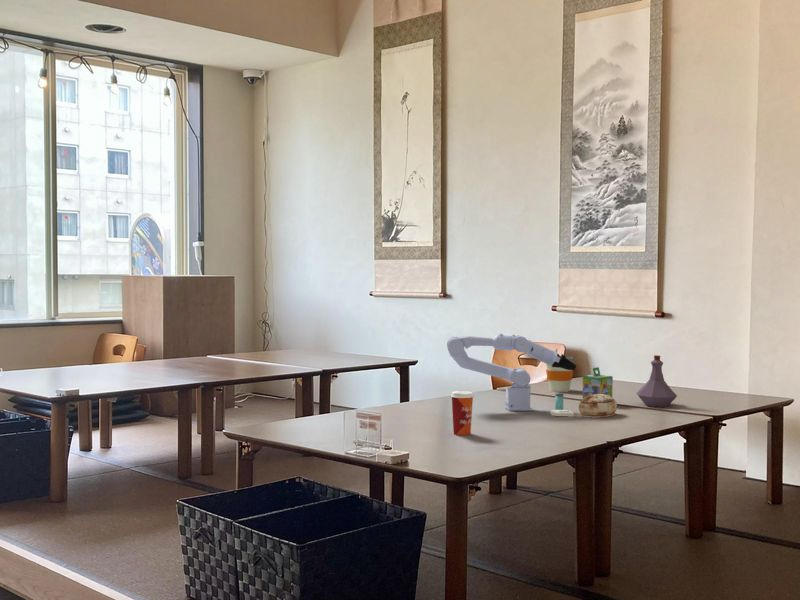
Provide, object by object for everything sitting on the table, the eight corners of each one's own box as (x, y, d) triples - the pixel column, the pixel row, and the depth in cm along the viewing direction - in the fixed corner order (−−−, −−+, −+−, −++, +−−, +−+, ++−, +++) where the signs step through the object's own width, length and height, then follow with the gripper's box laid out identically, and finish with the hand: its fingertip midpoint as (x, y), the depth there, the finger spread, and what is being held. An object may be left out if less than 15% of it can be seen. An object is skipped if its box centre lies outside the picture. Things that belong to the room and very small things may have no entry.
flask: (627, 402, 375) (628, 354, 374) (663, 401, 380) (663, 353, 379) (649, 409, 359) (650, 358, 359) (685, 407, 364) (686, 357, 363)
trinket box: (618, 413, 350) (618, 392, 350) (613, 419, 336) (613, 398, 336) (583, 411, 355) (583, 391, 355) (576, 417, 341) (576, 396, 341)
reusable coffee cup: (579, 390, 411) (579, 357, 410) (563, 393, 402) (563, 359, 401) (555, 387, 419) (555, 355, 419) (539, 390, 410) (539, 357, 410)
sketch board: (555, 416, 341) (555, 413, 341) (550, 413, 349) (550, 409, 349) (573, 416, 342) (573, 413, 342) (568, 412, 350) (568, 409, 350)
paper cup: (466, 437, 301) (467, 394, 301) (446, 434, 305) (446, 392, 305) (477, 433, 308) (478, 391, 307) (457, 430, 312) (457, 390, 311)
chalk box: (601, 406, 365) (602, 369, 365) (581, 404, 372) (582, 367, 371) (613, 404, 372) (613, 367, 372) (593, 401, 378) (593, 366, 378)
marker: (556, 412, 352) (556, 393, 352) (554, 410, 355) (554, 392, 355) (564, 411, 352) (564, 393, 352) (562, 410, 355) (562, 392, 355)
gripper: (548, 343, 349) (581, 358, 349) (542, 344, 364) (573, 358, 364) (541, 360, 349) (573, 375, 349) (535, 360, 363) (566, 374, 363)
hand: (573, 367), depth 356 cm, fingers open, 7 cm apart
